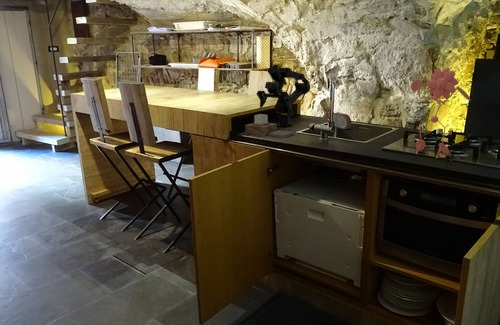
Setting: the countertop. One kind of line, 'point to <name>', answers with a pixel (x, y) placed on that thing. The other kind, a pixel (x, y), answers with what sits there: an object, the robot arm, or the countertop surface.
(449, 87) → the figurine
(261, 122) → the steel peg
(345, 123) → the tin
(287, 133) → the rubber pad
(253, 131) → the brown square tray
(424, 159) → the countertop surface
